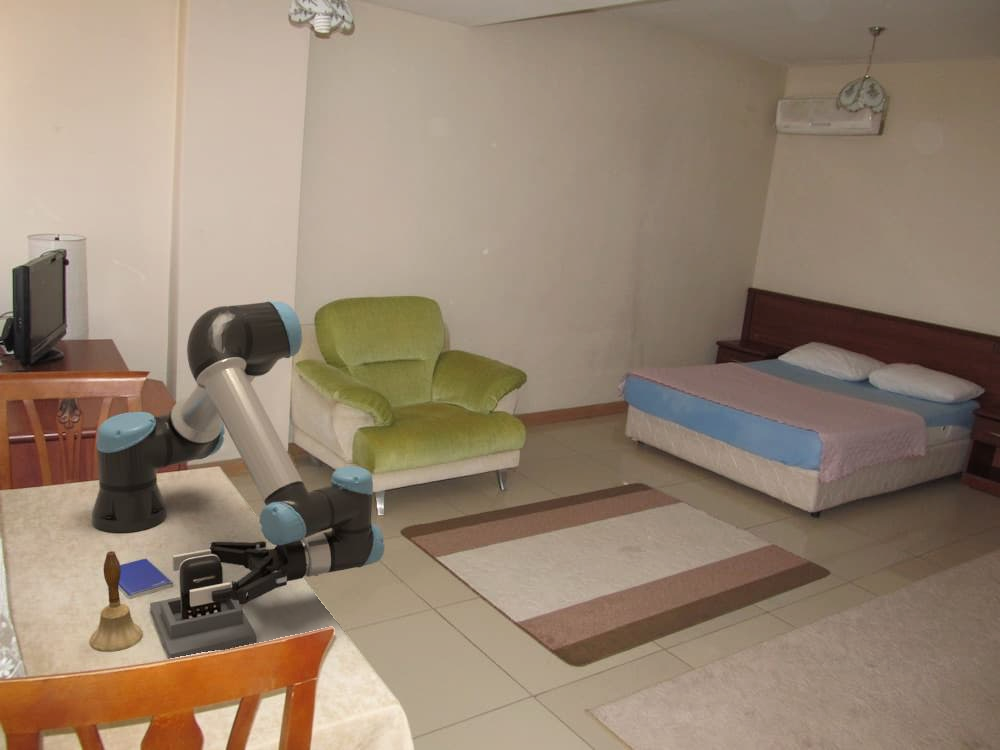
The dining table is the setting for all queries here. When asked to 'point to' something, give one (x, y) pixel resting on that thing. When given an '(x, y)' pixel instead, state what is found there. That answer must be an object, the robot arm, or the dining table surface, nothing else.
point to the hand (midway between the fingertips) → (181, 580)
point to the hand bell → (115, 615)
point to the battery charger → (199, 583)
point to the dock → (201, 628)
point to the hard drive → (141, 579)
